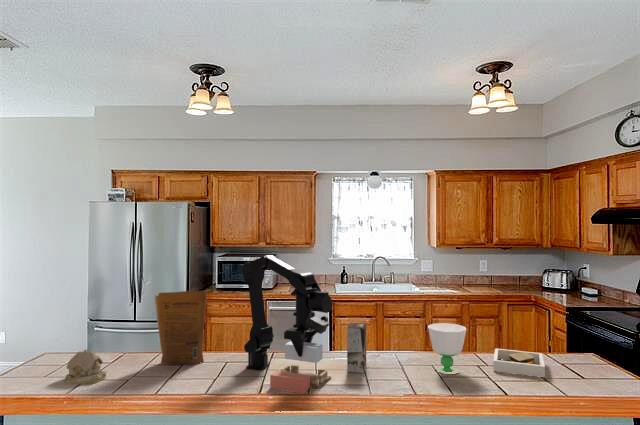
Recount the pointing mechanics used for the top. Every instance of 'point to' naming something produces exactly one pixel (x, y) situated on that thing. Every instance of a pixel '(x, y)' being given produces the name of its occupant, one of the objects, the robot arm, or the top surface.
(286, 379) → the salmon pink slab
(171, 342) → the pancake mix bag
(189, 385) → the top surface
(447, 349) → the cup
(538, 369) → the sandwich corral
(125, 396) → the top surface
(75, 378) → the ceramic model
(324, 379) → the jig
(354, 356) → the coffee box
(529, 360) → the toy sandwich meal
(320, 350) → the pale blue slab
